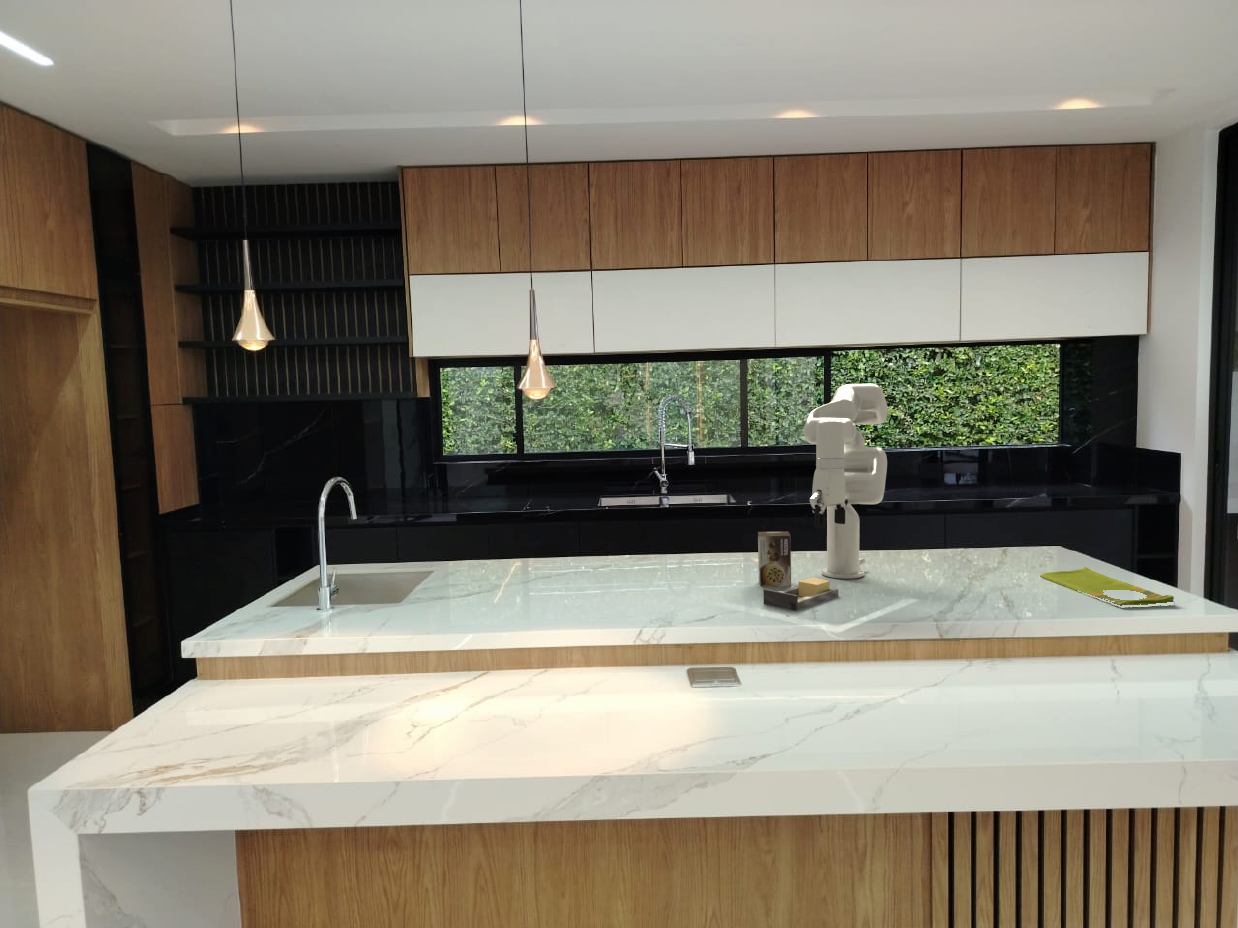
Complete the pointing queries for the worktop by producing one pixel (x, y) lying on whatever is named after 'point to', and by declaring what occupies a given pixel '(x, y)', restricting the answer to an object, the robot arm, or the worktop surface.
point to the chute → (796, 598)
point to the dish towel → (1102, 586)
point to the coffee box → (774, 558)
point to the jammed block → (812, 586)
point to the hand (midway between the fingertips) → (829, 525)
